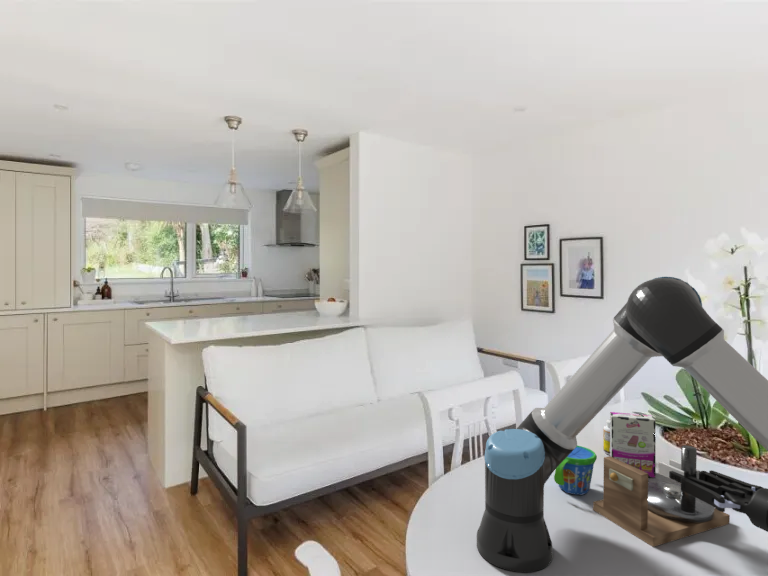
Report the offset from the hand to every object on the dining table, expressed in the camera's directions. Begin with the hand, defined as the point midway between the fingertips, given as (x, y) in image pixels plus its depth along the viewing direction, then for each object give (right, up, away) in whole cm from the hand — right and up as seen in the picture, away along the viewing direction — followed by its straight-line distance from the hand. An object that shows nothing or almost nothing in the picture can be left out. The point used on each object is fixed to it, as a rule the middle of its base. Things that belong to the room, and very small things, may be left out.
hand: (665, 466), depth 107 cm
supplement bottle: (+7, -11, +38) cm, 40 cm away
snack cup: (-15, -12, +14) cm, 24 cm away
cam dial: (+3, -10, +1) cm, 10 cm away
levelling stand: (-1, -12, +1) cm, 12 cm away
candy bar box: (+5, -11, +24) cm, 27 cm away
